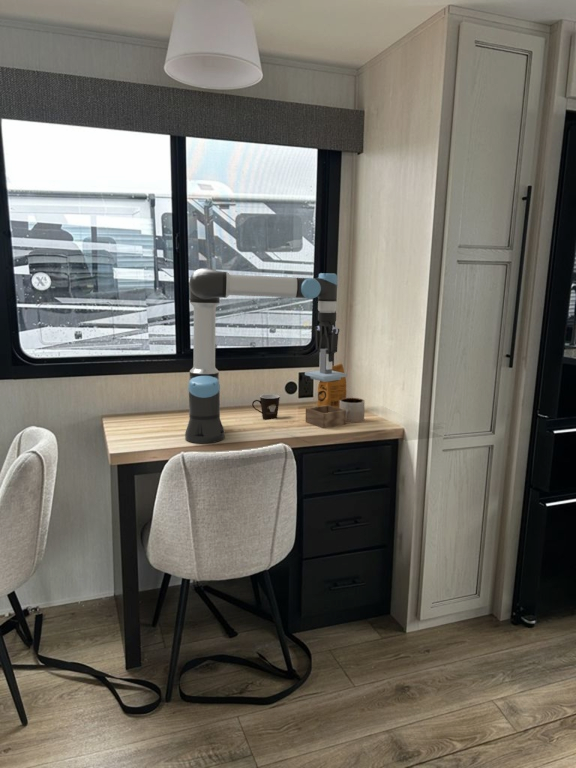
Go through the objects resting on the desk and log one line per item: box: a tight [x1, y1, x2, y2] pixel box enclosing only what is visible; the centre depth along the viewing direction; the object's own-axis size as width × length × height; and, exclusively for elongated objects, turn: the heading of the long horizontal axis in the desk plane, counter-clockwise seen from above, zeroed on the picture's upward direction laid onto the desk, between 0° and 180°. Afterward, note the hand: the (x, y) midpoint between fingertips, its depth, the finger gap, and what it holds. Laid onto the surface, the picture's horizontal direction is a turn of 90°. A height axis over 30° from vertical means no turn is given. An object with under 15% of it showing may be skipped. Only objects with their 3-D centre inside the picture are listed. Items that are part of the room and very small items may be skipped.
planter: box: [339, 397, 366, 424], centre depth 253 cm, size 11×11×10 cm
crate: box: [305, 405, 347, 429], centre depth 246 cm, size 12×12×7 cm
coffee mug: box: [251, 393, 281, 421], centre depth 257 cm, size 12×9×10 cm
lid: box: [304, 347, 348, 382], centre depth 242 cm, size 12×12×13 cm
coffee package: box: [316, 363, 347, 408], centre depth 270 cm, size 10×12×22 cm
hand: (325, 368), depth 242 cm, fingers closed on lid, 3 cm apart
